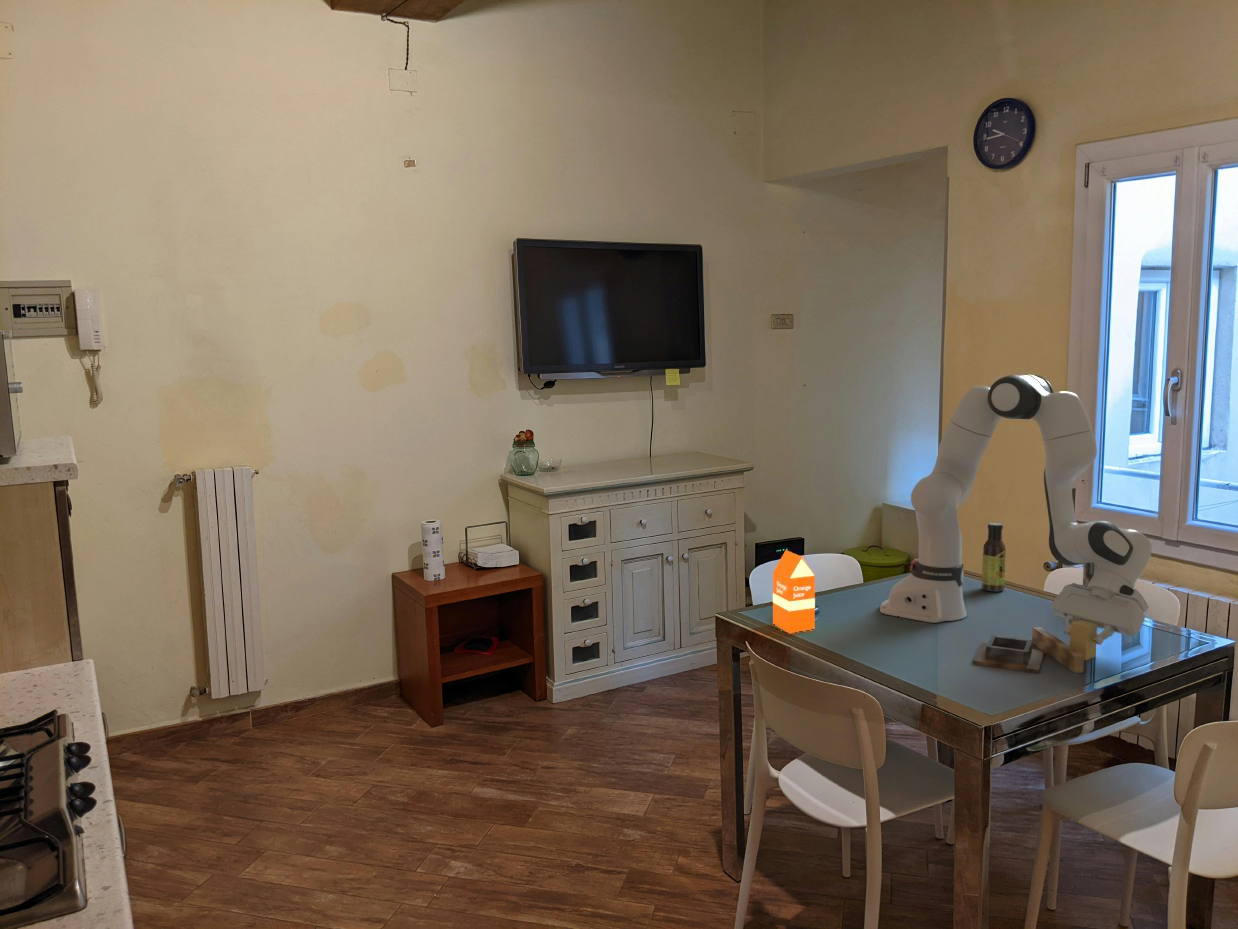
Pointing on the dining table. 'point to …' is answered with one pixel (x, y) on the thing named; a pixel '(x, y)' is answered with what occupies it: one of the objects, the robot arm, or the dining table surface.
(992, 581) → the sauce bottle
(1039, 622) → the dining table surface
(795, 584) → the orange juice
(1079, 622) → the stop block
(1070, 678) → the dining table surface
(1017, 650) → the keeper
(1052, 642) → the strip
